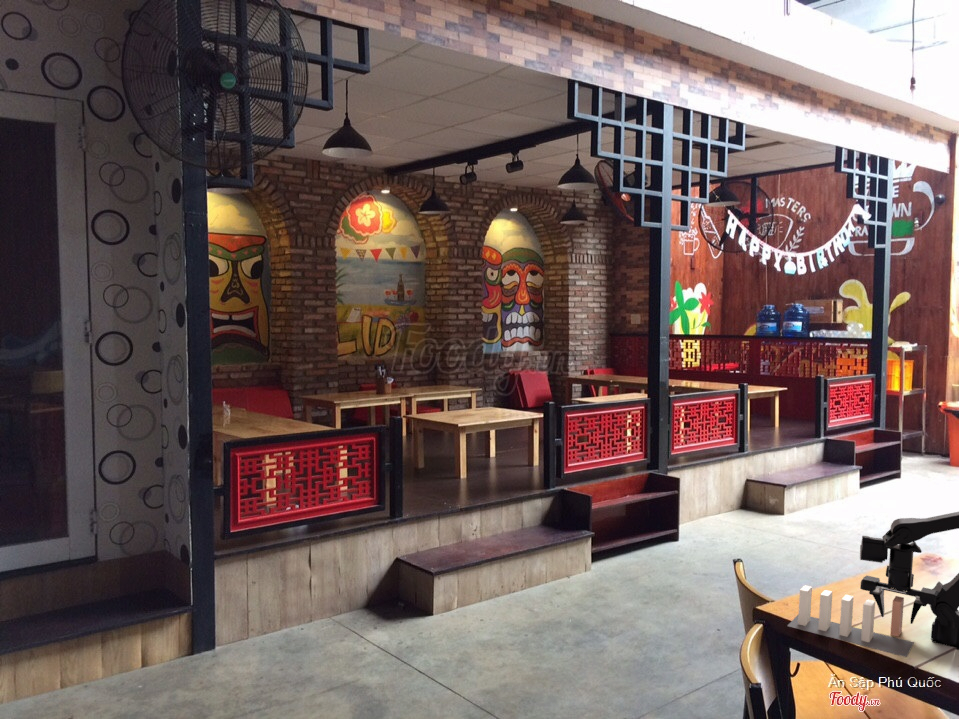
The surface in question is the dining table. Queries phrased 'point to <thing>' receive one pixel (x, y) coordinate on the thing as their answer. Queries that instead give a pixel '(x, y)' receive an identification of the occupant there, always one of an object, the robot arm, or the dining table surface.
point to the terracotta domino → (897, 616)
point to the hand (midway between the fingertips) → (897, 620)
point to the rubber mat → (857, 637)
